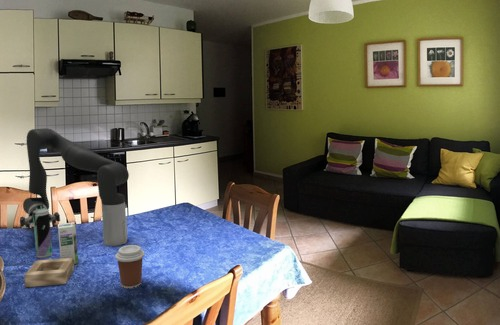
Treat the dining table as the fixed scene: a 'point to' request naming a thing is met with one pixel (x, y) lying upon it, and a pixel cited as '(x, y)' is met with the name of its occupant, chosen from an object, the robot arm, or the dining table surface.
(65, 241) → the syrup box
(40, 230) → the spray can
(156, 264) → the dining table surface
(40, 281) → the collar
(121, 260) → the coffee cup
